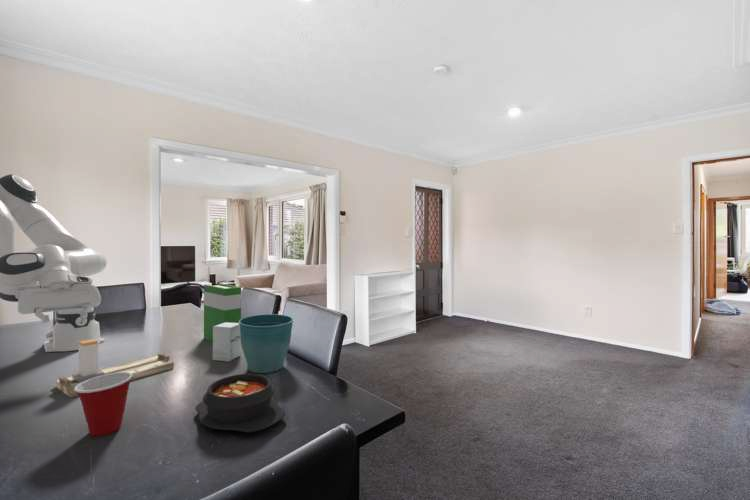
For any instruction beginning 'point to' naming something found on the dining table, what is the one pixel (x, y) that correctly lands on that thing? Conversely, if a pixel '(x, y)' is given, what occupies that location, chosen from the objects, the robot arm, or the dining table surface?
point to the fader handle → (88, 361)
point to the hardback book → (220, 306)
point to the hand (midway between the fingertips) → (65, 319)
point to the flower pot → (265, 341)
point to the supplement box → (226, 341)
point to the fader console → (134, 367)
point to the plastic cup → (104, 401)
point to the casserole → (240, 404)
